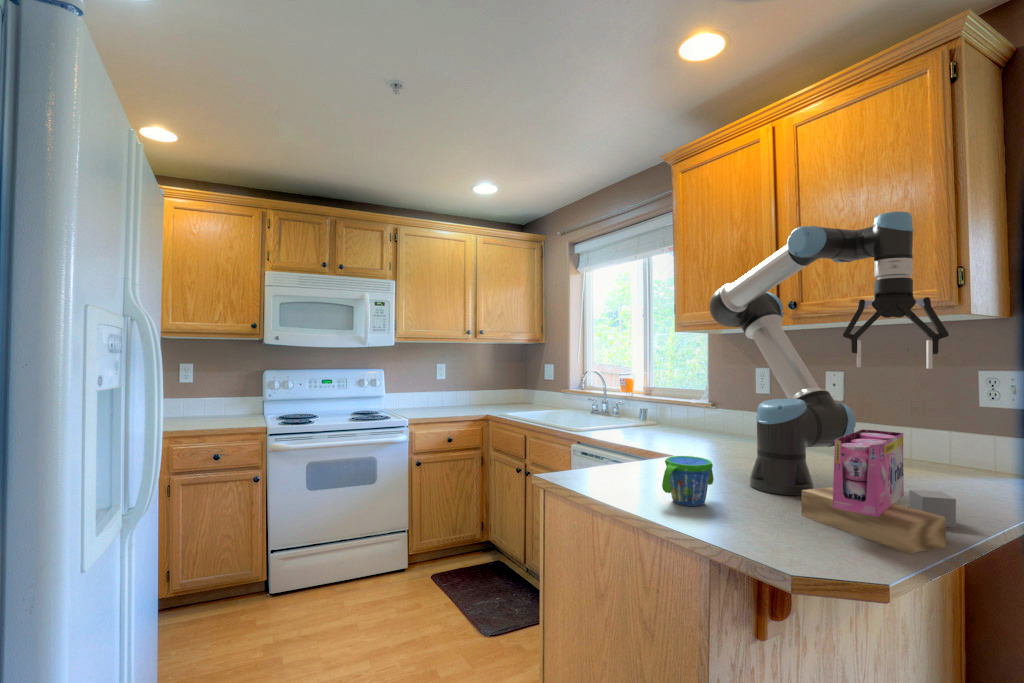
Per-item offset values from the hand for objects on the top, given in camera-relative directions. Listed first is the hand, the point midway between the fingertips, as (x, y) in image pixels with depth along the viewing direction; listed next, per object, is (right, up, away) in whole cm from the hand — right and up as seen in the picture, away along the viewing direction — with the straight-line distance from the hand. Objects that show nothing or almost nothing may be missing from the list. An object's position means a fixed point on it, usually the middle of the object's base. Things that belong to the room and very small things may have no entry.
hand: (893, 368), depth 125 cm
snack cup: (-48, -33, +1) cm, 58 cm away
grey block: (0, -33, -11) cm, 35 cm away
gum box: (-17, -27, -16) cm, 36 cm away
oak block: (-17, -33, -17) cm, 41 cm away
